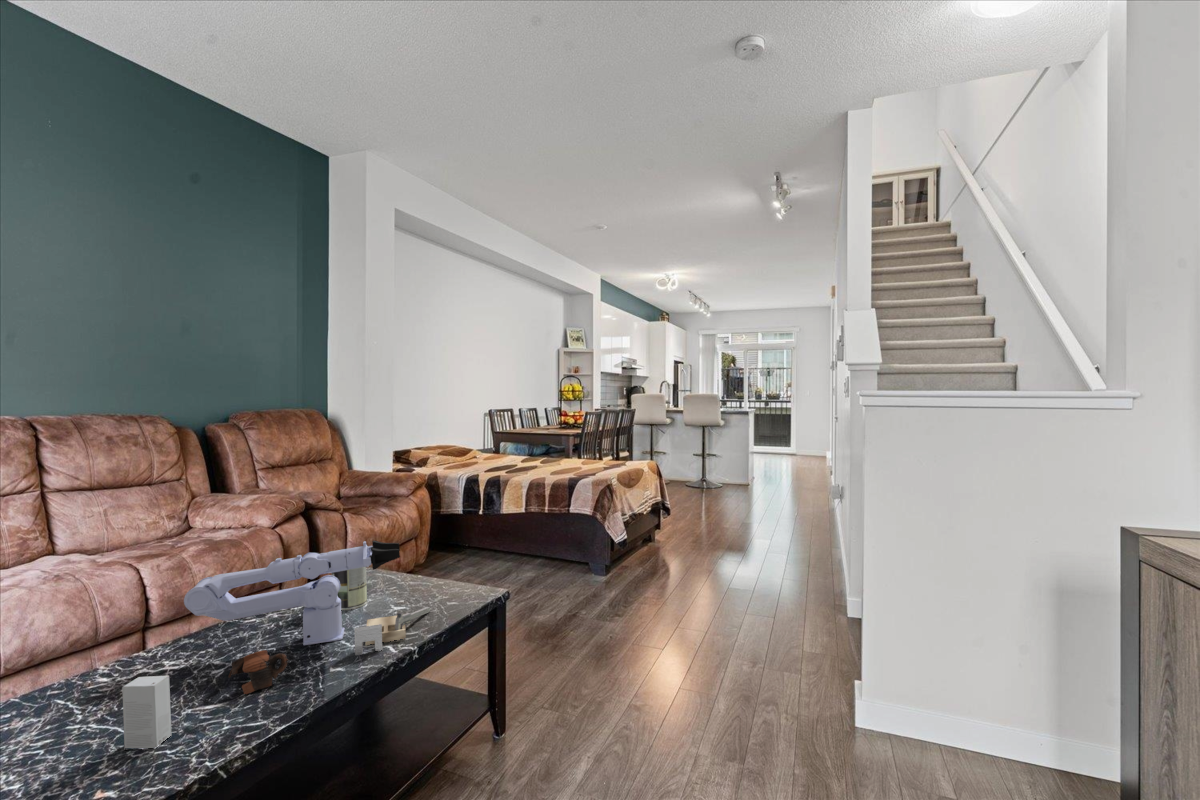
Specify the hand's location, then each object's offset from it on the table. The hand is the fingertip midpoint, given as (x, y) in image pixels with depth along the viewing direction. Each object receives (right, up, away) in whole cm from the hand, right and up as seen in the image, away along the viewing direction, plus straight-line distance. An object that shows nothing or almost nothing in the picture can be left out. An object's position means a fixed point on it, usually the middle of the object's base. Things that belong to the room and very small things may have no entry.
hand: (399, 550), depth 164 cm
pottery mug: (-21, -23, -31) cm, 44 cm away
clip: (-2, -22, -16) cm, 27 cm away
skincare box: (-29, -23, -54) cm, 65 cm away
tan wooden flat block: (-2, -22, -5) cm, 22 cm away
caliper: (+4, -21, +1) cm, 22 cm away
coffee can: (-22, -22, +19) cm, 37 cm away
